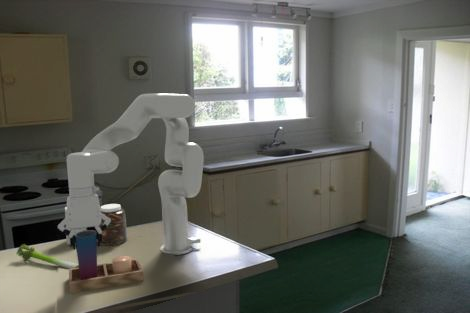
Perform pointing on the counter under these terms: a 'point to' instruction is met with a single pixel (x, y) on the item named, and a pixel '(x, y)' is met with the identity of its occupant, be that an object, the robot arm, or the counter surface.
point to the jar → (114, 225)
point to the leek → (43, 257)
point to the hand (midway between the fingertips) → (86, 246)
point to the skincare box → (69, 229)
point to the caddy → (104, 277)
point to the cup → (87, 253)
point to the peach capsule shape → (122, 265)
